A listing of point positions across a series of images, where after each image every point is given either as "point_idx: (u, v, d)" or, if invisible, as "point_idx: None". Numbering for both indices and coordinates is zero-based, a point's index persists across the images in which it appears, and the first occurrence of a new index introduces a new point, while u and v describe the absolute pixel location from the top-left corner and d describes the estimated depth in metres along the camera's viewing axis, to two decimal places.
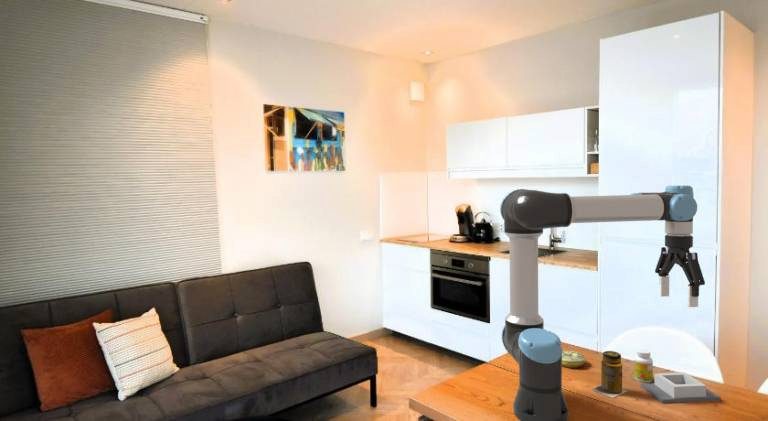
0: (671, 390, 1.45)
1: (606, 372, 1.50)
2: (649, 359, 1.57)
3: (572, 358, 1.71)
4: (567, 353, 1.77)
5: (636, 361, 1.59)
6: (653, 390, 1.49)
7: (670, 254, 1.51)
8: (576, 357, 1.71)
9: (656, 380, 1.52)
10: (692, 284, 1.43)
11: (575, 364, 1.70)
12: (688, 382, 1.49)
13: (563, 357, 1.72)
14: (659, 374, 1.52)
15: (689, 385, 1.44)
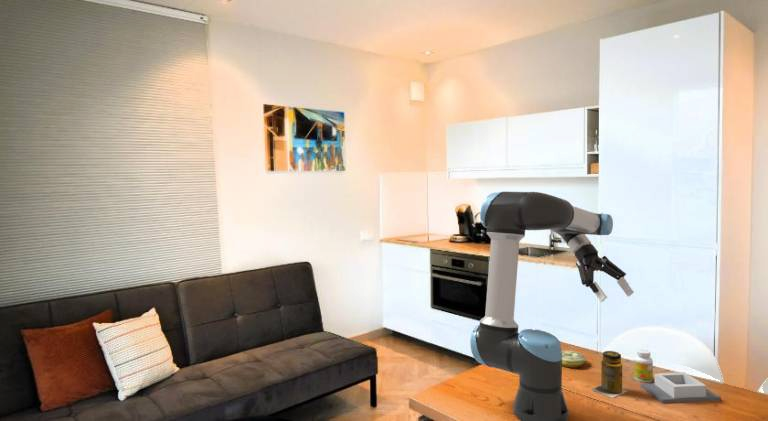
0: (671, 390, 1.45)
1: (606, 372, 1.50)
2: (649, 359, 1.57)
3: (572, 358, 1.71)
4: (567, 353, 1.77)
5: (636, 361, 1.59)
6: (653, 390, 1.49)
7: (594, 260, 1.74)
8: (576, 357, 1.71)
9: (656, 380, 1.52)
10: None
11: (575, 364, 1.70)
12: (688, 382, 1.49)
13: (563, 357, 1.72)
14: (659, 374, 1.52)
15: (689, 385, 1.44)
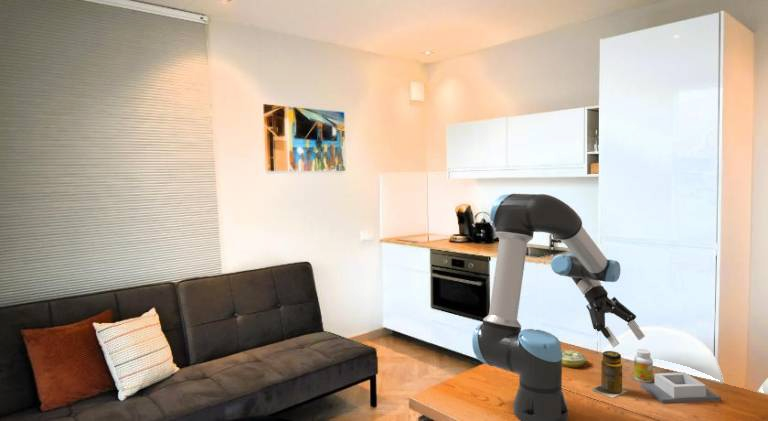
0: (671, 390, 1.45)
1: (606, 372, 1.50)
2: (649, 359, 1.57)
3: (572, 358, 1.71)
4: (567, 353, 1.77)
5: (636, 361, 1.59)
6: (653, 390, 1.49)
7: (604, 302, 1.71)
8: (576, 357, 1.72)
9: (656, 380, 1.52)
10: None
11: (575, 363, 1.70)
12: (688, 382, 1.49)
13: (563, 357, 1.72)
14: (659, 374, 1.52)
15: (689, 385, 1.44)
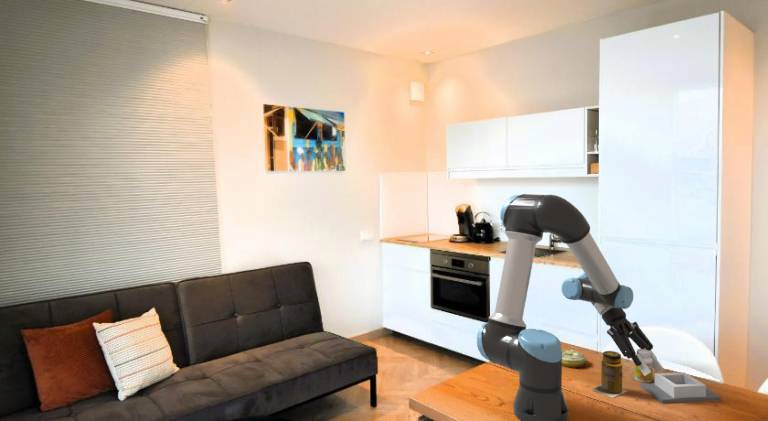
0: (671, 390, 1.45)
1: (606, 372, 1.50)
2: (649, 359, 1.57)
3: (573, 357, 1.71)
4: (568, 352, 1.77)
5: None
6: (653, 390, 1.49)
7: (622, 324, 1.64)
8: (577, 356, 1.72)
9: (656, 380, 1.52)
10: None
11: (576, 363, 1.70)
12: (688, 382, 1.49)
13: (564, 356, 1.73)
14: (659, 374, 1.52)
15: (689, 385, 1.44)
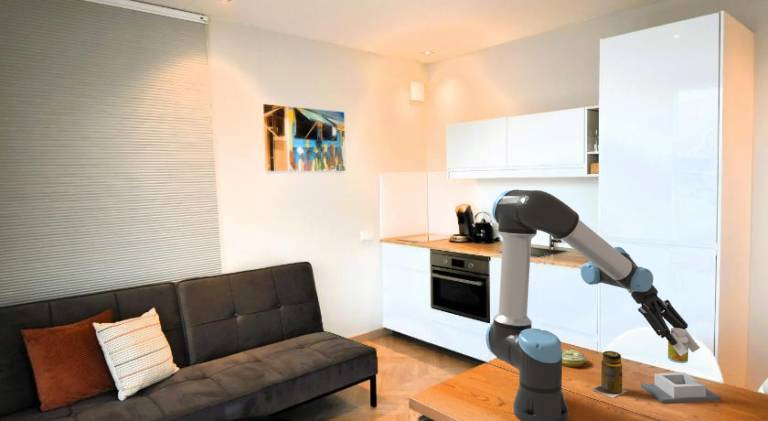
0: (671, 390, 1.45)
1: (606, 372, 1.50)
2: (685, 338, 1.46)
3: (573, 357, 1.71)
4: (568, 352, 1.77)
5: None
6: (653, 390, 1.49)
7: (655, 301, 1.53)
8: (577, 356, 1.72)
9: (656, 380, 1.52)
10: None
11: (576, 363, 1.70)
12: (688, 382, 1.49)
13: (564, 356, 1.73)
14: (659, 374, 1.52)
15: (689, 385, 1.44)
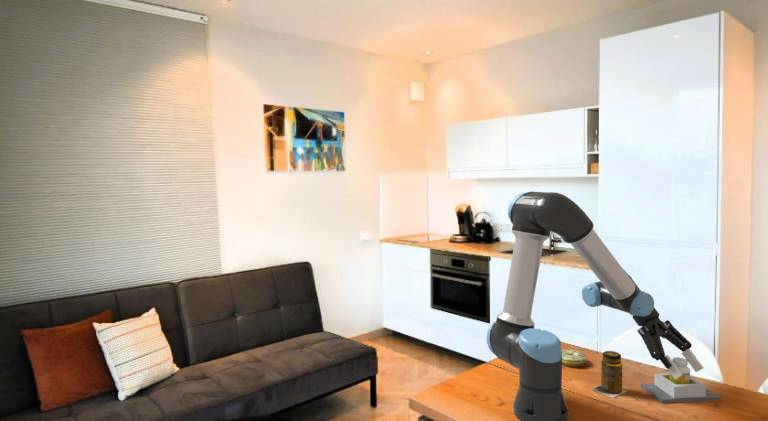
0: (671, 390, 1.45)
1: (606, 372, 1.50)
2: (686, 368, 1.46)
3: (573, 357, 1.72)
4: (568, 352, 1.78)
5: None
6: (653, 390, 1.49)
7: (656, 325, 1.53)
8: (577, 356, 1.72)
9: (656, 380, 1.52)
10: None
11: (576, 363, 1.71)
12: None
13: (564, 356, 1.73)
14: (659, 374, 1.52)
15: (689, 385, 1.44)
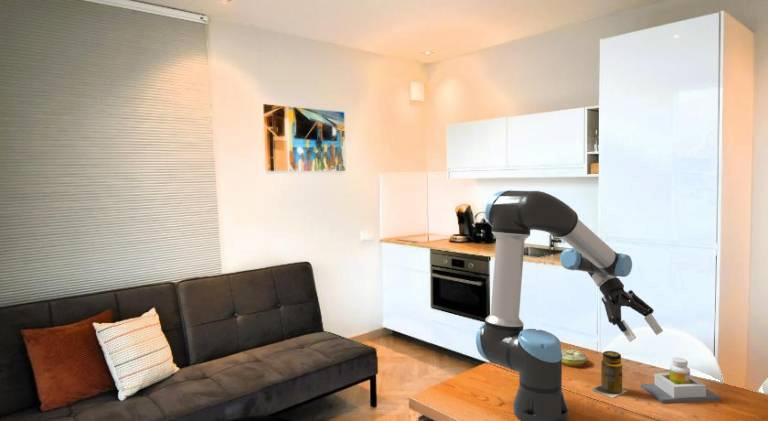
0: (671, 390, 1.45)
1: (606, 372, 1.50)
2: (686, 368, 1.47)
3: (573, 357, 1.72)
4: (569, 352, 1.78)
5: (672, 371, 1.48)
6: (653, 390, 1.49)
7: (620, 295, 1.64)
8: (577, 356, 1.72)
9: (656, 380, 1.52)
10: None
11: (576, 362, 1.71)
12: None
13: (564, 356, 1.73)
14: (659, 374, 1.52)
15: (689, 385, 1.44)
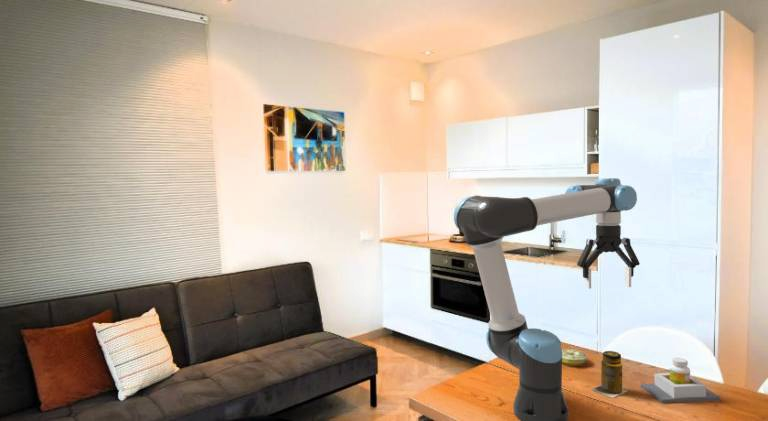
0: (671, 390, 1.45)
1: (606, 372, 1.50)
2: (686, 368, 1.46)
3: (574, 357, 1.72)
4: (569, 352, 1.78)
5: (672, 371, 1.48)
6: (653, 390, 1.49)
7: (608, 244, 1.58)
8: (578, 356, 1.73)
9: (656, 380, 1.52)
10: None
11: (577, 362, 1.71)
12: None
13: (565, 356, 1.74)
14: (659, 374, 1.52)
15: (689, 385, 1.44)
